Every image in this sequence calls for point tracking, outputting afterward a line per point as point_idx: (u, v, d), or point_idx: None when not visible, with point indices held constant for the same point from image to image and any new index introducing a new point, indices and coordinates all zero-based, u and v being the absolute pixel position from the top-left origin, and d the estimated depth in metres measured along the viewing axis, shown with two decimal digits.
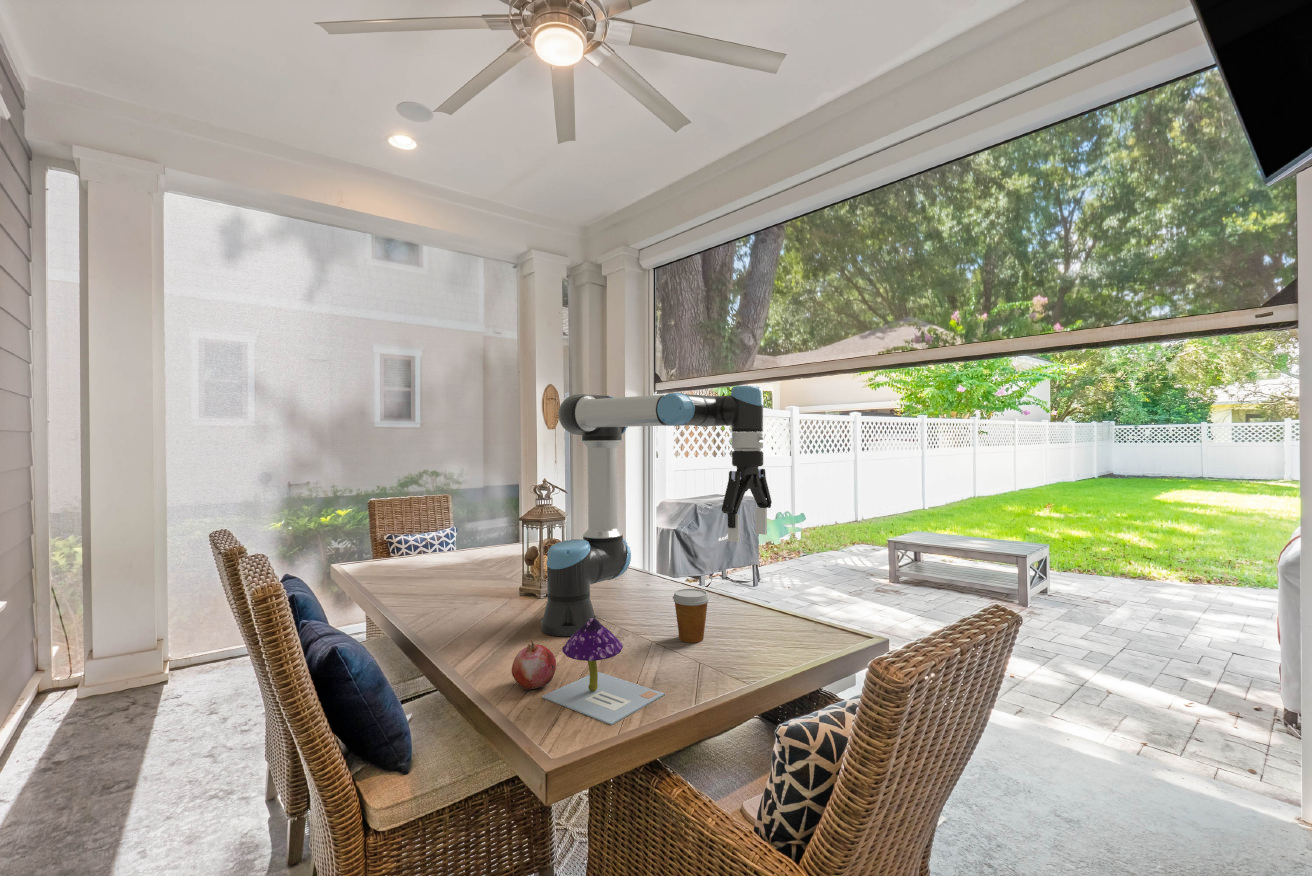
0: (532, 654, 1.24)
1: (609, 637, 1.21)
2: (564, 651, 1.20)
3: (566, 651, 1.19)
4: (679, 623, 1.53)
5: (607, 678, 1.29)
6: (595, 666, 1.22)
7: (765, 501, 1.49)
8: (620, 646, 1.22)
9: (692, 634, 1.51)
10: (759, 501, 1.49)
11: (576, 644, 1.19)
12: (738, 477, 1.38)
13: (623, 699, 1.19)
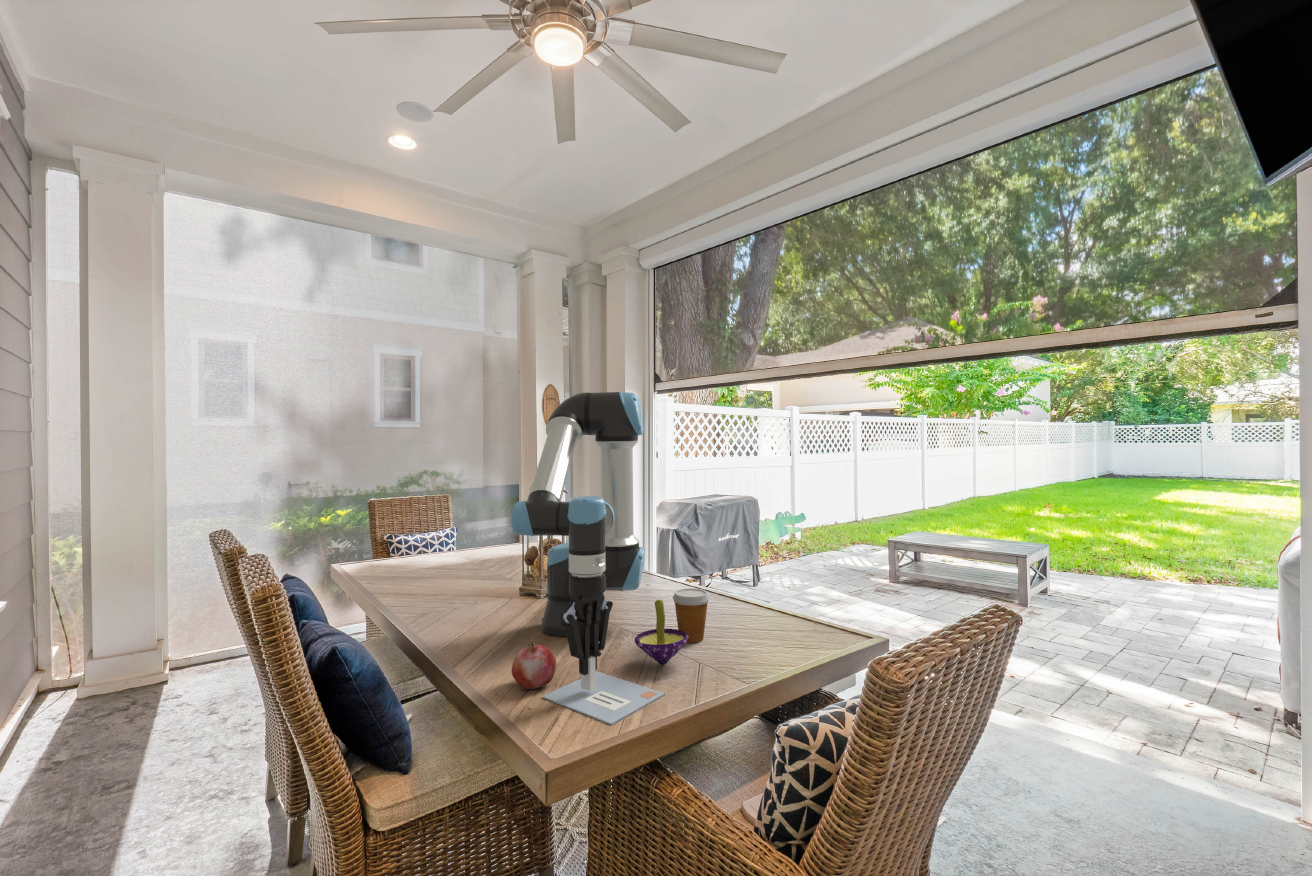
0: (532, 654, 1.24)
1: (669, 654, 1.33)
2: None
3: None
4: (679, 623, 1.53)
5: (607, 678, 1.29)
6: (662, 623, 1.36)
7: (596, 646, 1.22)
8: (663, 648, 1.31)
9: (692, 634, 1.51)
10: (590, 643, 1.22)
11: None
12: (572, 621, 1.17)
13: (623, 699, 1.19)
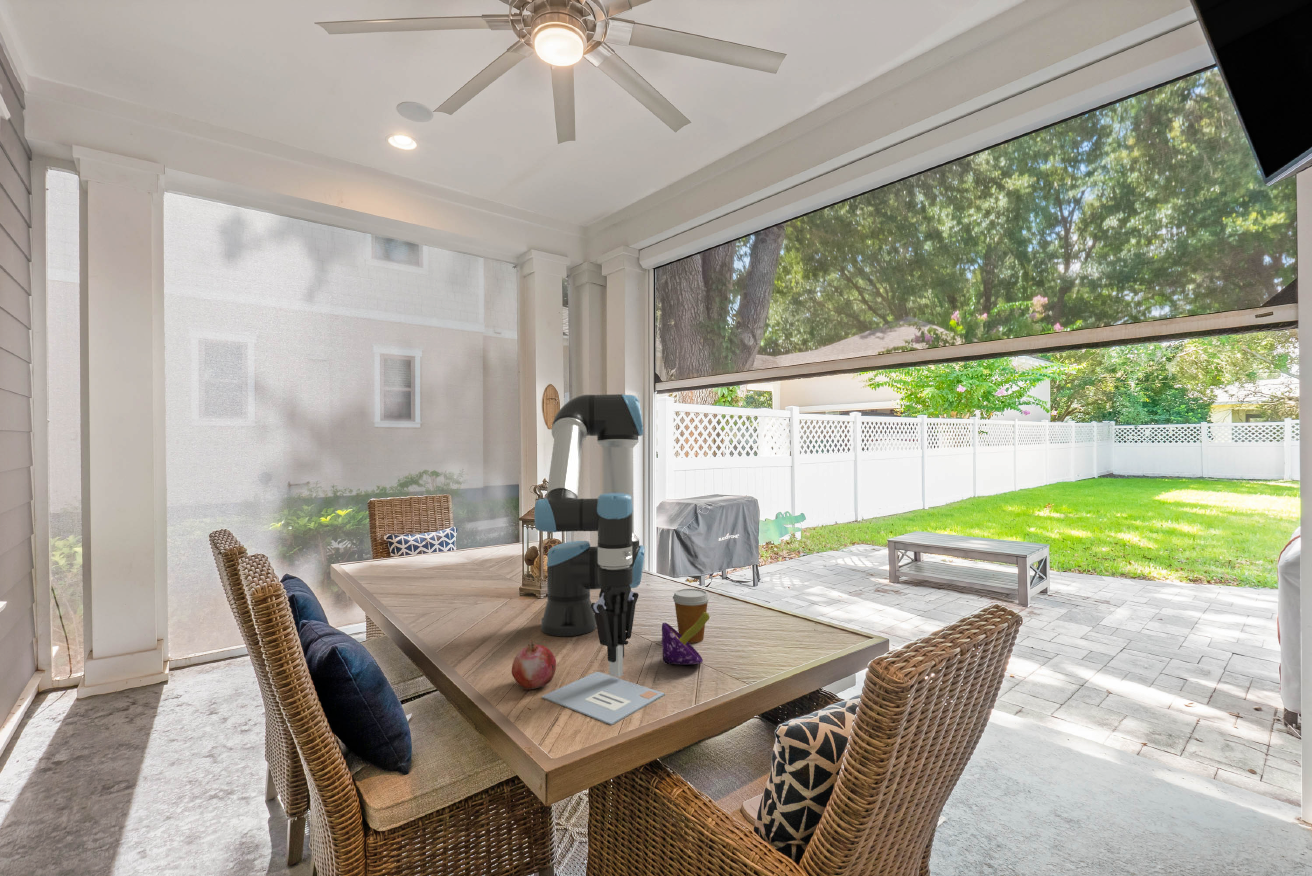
0: (532, 654, 1.24)
1: (683, 661, 1.34)
2: None
3: None
4: (679, 623, 1.53)
5: (607, 678, 1.29)
6: (695, 633, 1.37)
7: (623, 634, 1.28)
8: (688, 655, 1.32)
9: None
10: (617, 632, 1.29)
11: None
12: (602, 611, 1.23)
13: (623, 699, 1.19)
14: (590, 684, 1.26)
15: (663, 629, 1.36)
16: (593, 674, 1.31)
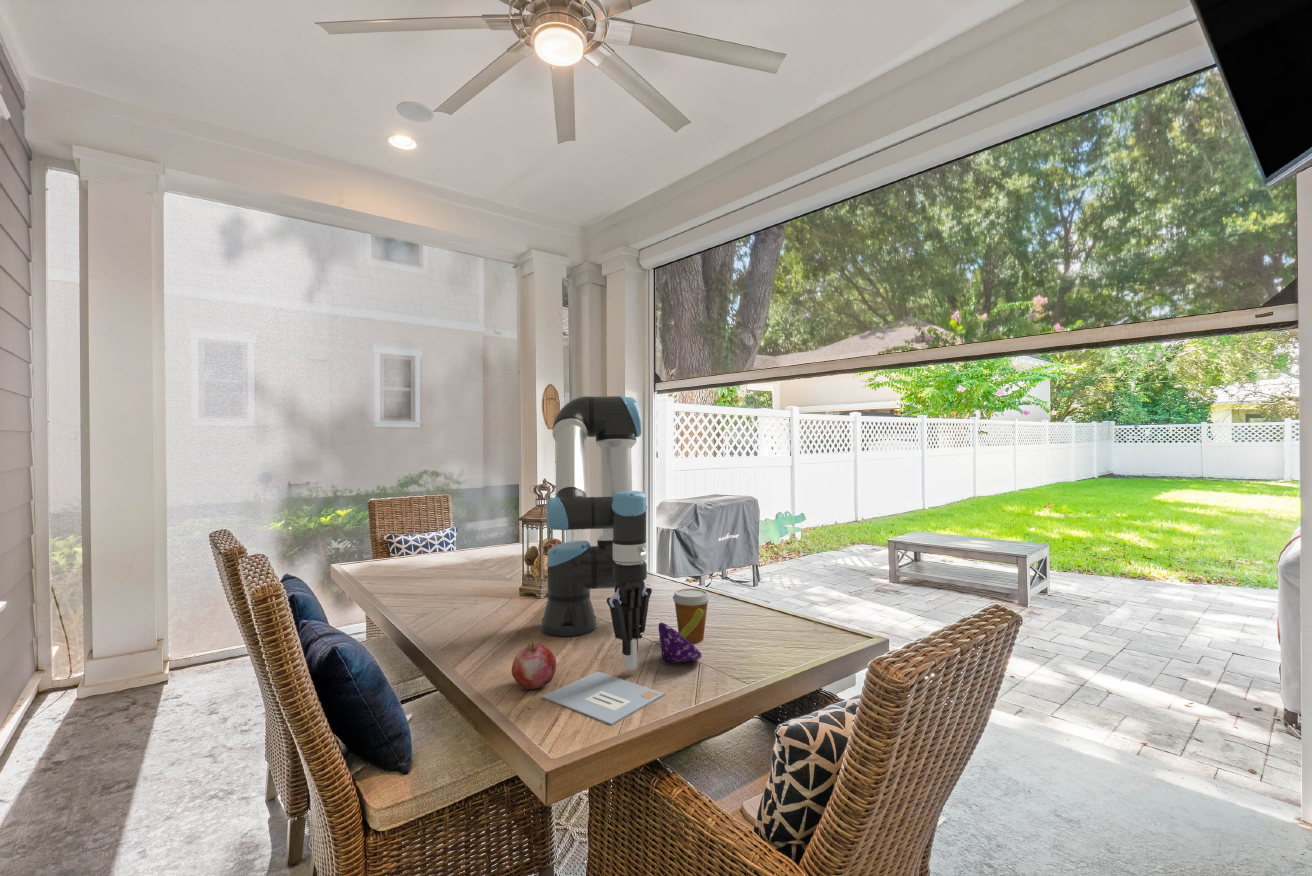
0: (532, 654, 1.24)
1: (682, 655, 1.35)
2: None
3: None
4: (679, 623, 1.53)
5: (607, 678, 1.29)
6: (691, 629, 1.40)
7: (638, 628, 1.32)
8: (686, 644, 1.33)
9: (692, 634, 1.51)
10: (631, 626, 1.32)
11: None
12: (617, 605, 1.27)
13: (623, 699, 1.19)
14: (590, 684, 1.26)
15: (659, 626, 1.38)
16: (593, 674, 1.31)
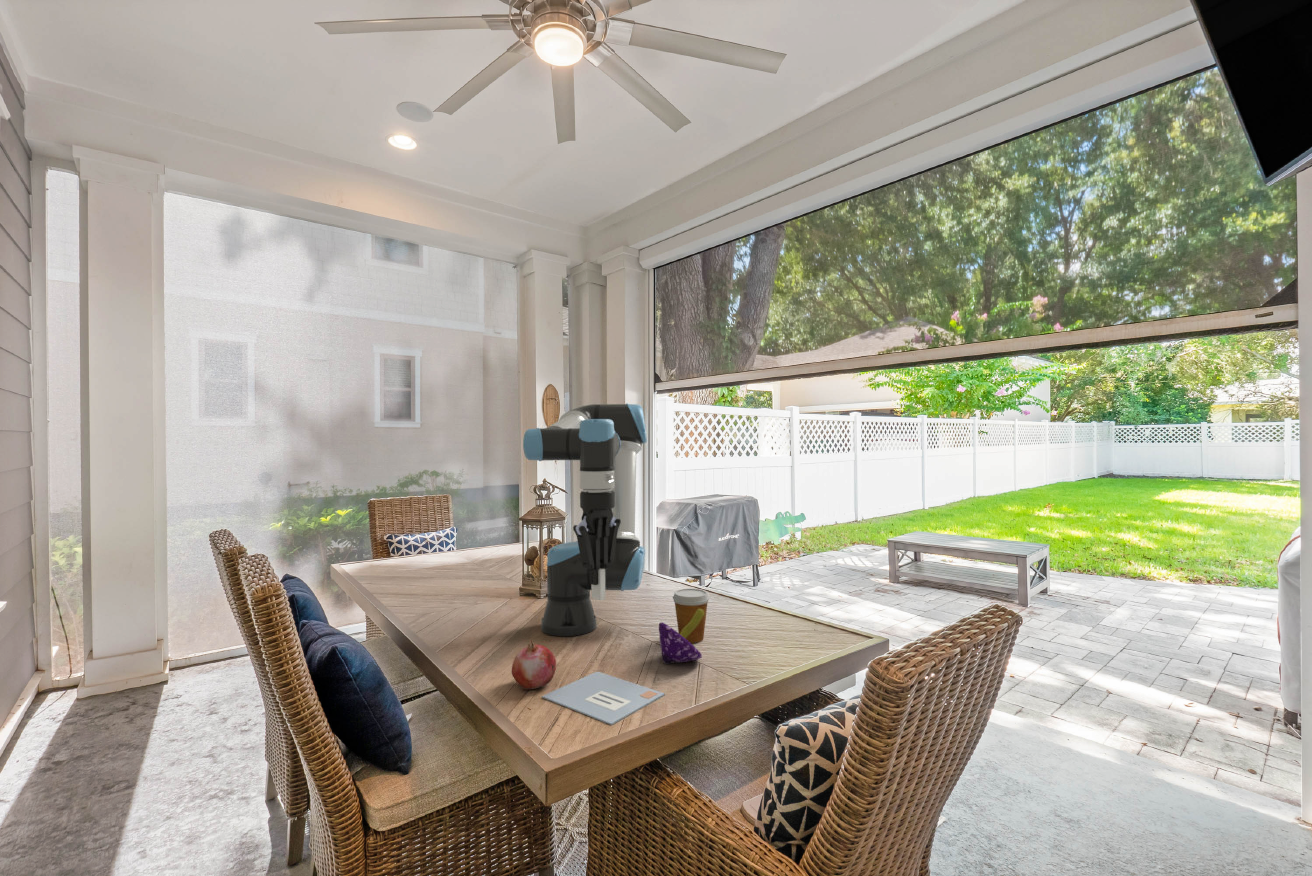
0: (532, 654, 1.24)
1: (682, 655, 1.34)
2: None
3: None
4: (679, 623, 1.53)
5: (607, 678, 1.29)
6: (691, 629, 1.39)
7: (606, 558, 1.30)
8: (686, 645, 1.33)
9: (692, 634, 1.51)
10: (599, 556, 1.30)
11: None
12: (584, 532, 1.24)
13: (623, 699, 1.19)
14: (590, 684, 1.26)
15: (659, 626, 1.38)
16: (593, 674, 1.31)
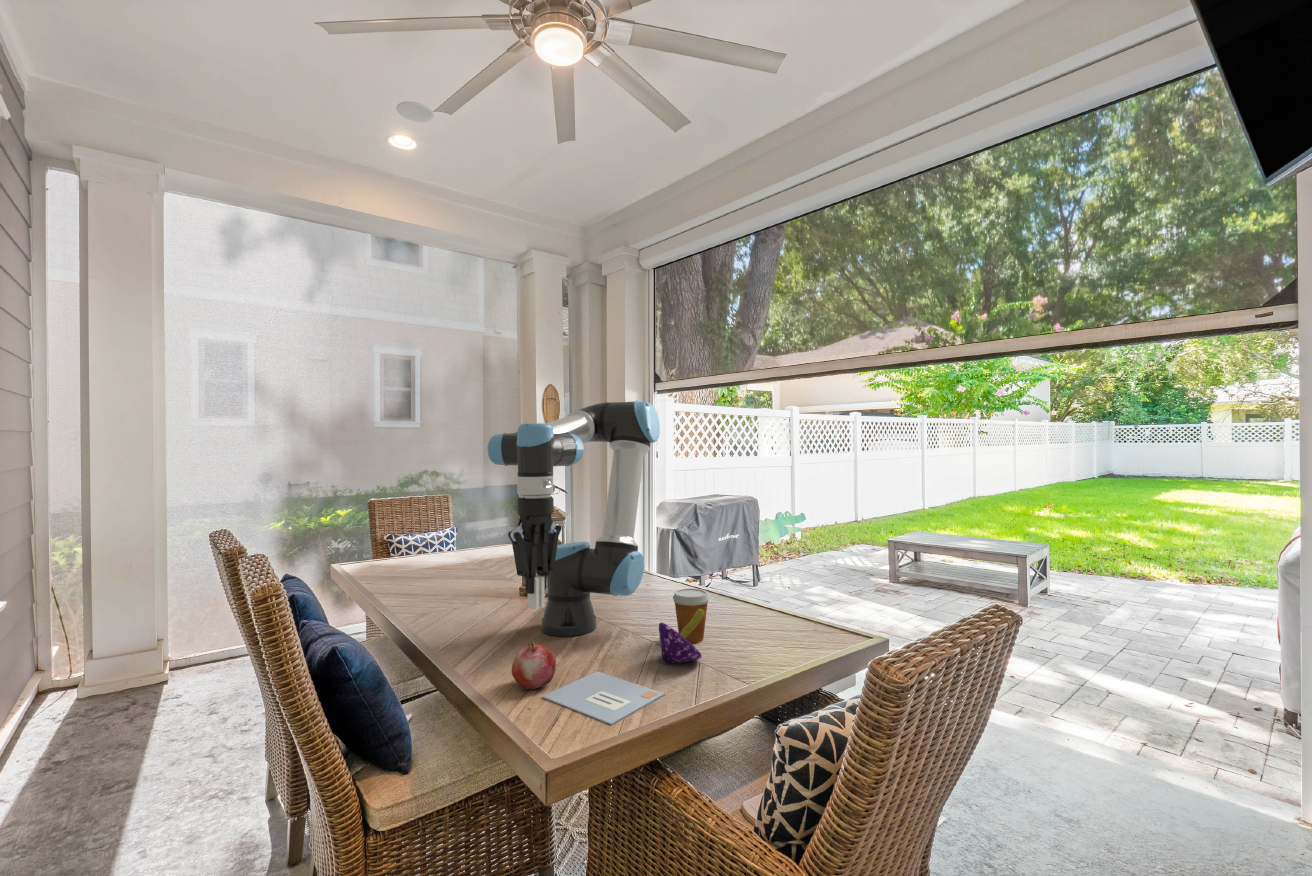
0: (532, 654, 1.24)
1: (682, 655, 1.34)
2: None
3: None
4: (679, 623, 1.53)
5: (607, 678, 1.29)
6: (691, 629, 1.39)
7: (545, 566, 1.27)
8: (686, 645, 1.33)
9: (692, 634, 1.51)
10: (539, 563, 1.27)
11: None
12: (519, 539, 1.21)
13: (623, 699, 1.19)
14: (590, 684, 1.26)
15: (659, 626, 1.38)
16: (593, 674, 1.31)
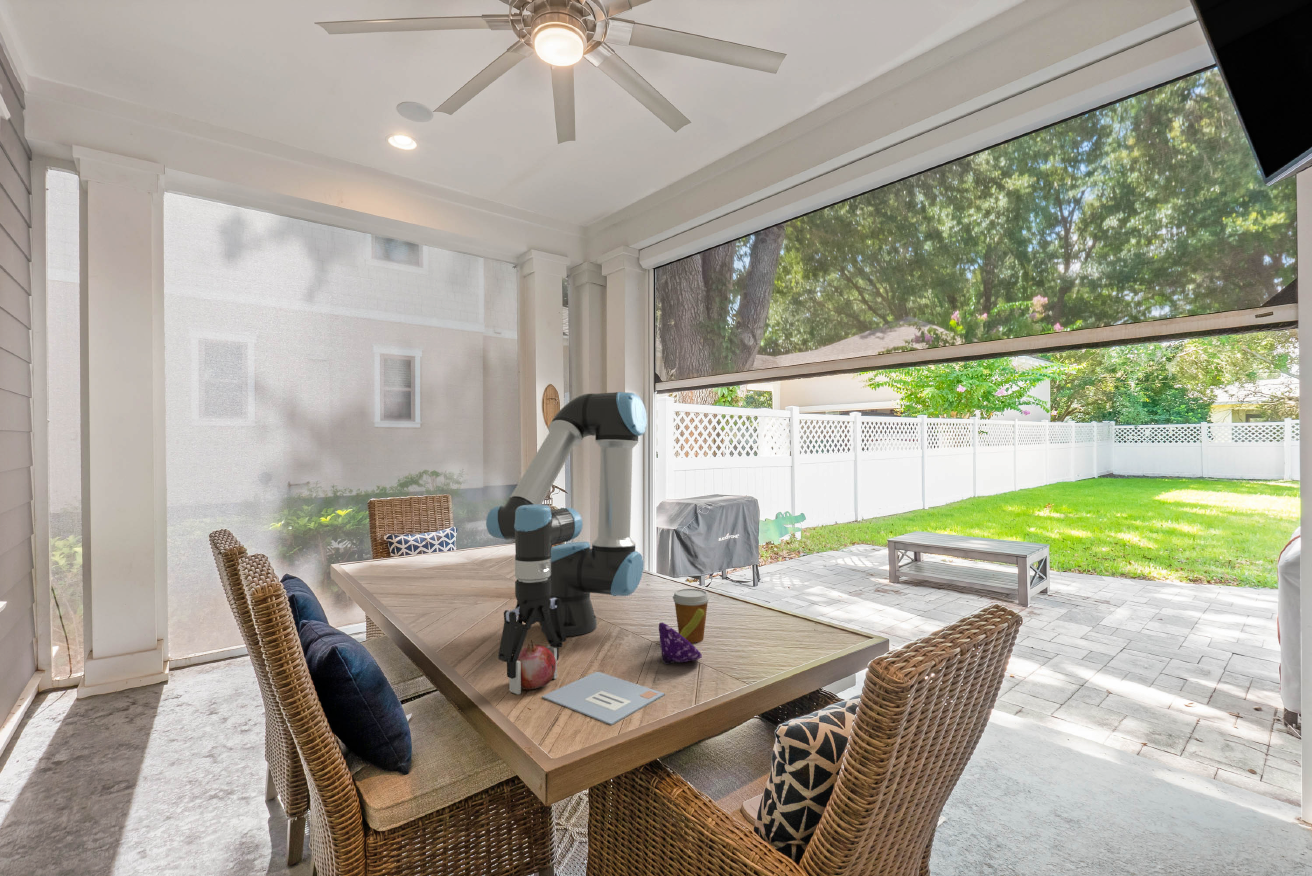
0: (532, 654, 1.24)
1: (682, 655, 1.34)
2: None
3: None
4: (679, 623, 1.53)
5: (607, 678, 1.29)
6: (691, 629, 1.39)
7: (555, 639, 1.30)
8: (686, 645, 1.33)
9: (692, 634, 1.51)
10: (549, 638, 1.30)
11: None
12: (513, 619, 1.21)
13: (623, 699, 1.19)
14: (590, 684, 1.26)
15: (659, 626, 1.38)
16: (593, 674, 1.31)
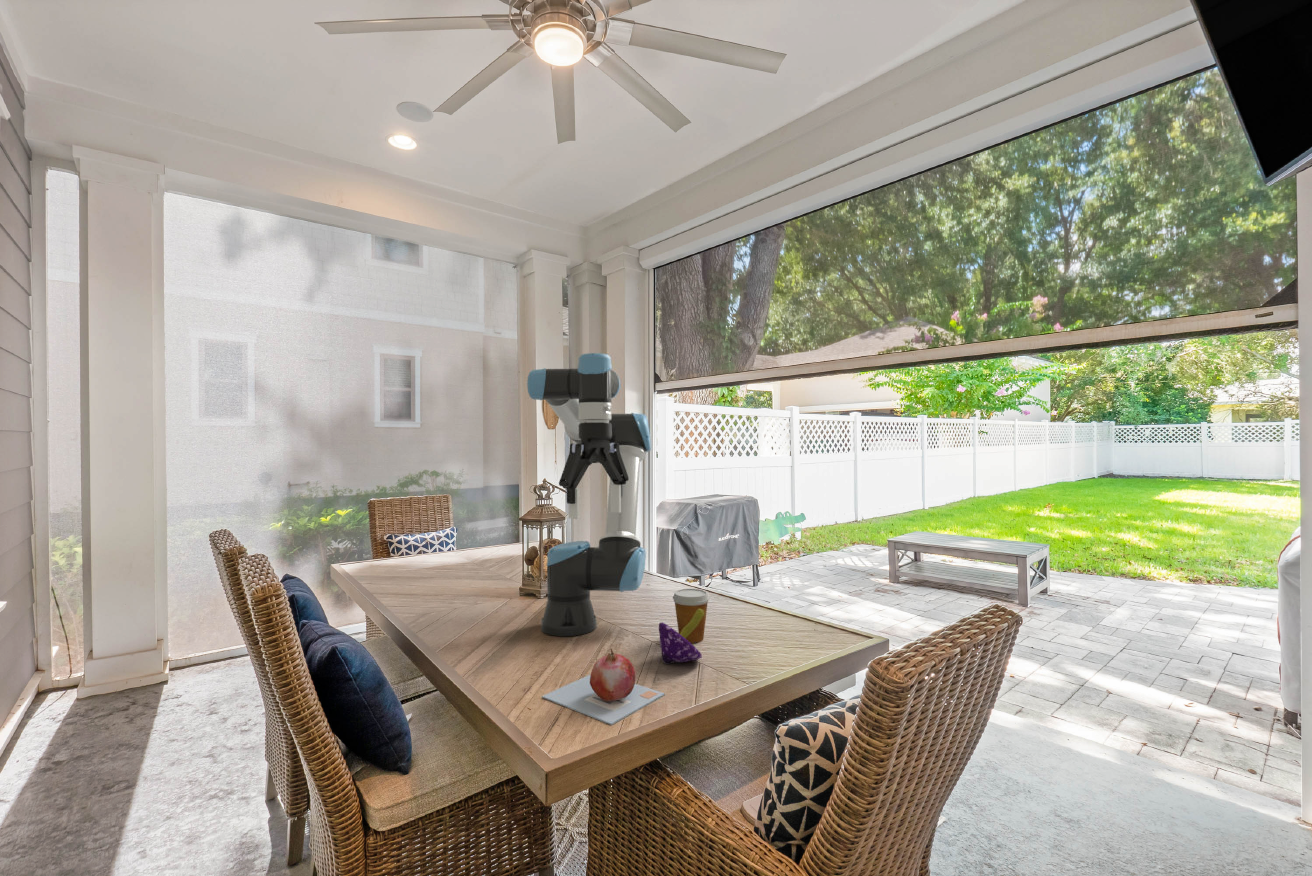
0: (613, 663, 1.17)
1: (682, 655, 1.34)
2: None
3: None
4: (679, 623, 1.53)
5: None
6: (691, 629, 1.39)
7: (619, 477, 1.40)
8: (686, 645, 1.33)
9: (692, 634, 1.51)
10: (613, 477, 1.40)
11: None
12: (578, 450, 1.30)
13: (623, 699, 1.19)
14: None
15: (659, 626, 1.38)
16: None
